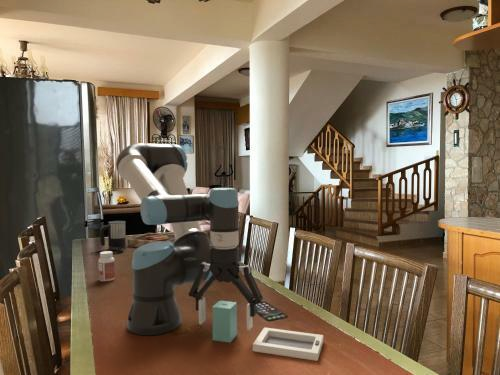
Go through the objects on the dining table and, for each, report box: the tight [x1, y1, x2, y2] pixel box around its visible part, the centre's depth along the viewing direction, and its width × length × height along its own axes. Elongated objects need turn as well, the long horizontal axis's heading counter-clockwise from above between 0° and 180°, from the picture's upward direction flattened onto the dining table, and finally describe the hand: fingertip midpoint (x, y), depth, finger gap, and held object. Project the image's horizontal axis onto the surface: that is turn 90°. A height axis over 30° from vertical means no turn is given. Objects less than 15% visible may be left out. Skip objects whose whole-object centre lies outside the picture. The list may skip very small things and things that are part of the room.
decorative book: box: [145, 233, 173, 241], centre depth 227 cm, size 11×16×5 cm
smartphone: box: [245, 300, 289, 322], centre depth 124 cm, size 7×1×15 cm
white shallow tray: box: [252, 326, 324, 362], centre depth 100 cm, size 16×10×2 cm, turn 72°
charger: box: [211, 300, 238, 343], centre depth 105 cm, size 5×5×9 cm
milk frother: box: [99, 220, 127, 253], centre depth 212 cm, size 14×16×15 cm
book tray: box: [127, 232, 176, 248], centre depth 227 cm, size 24×22×4 cm
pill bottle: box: [97, 250, 116, 282], centre depth 158 cm, size 6×6×11 cm
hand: (225, 325), depth 105 cm, fingers open, 13 cm apart
